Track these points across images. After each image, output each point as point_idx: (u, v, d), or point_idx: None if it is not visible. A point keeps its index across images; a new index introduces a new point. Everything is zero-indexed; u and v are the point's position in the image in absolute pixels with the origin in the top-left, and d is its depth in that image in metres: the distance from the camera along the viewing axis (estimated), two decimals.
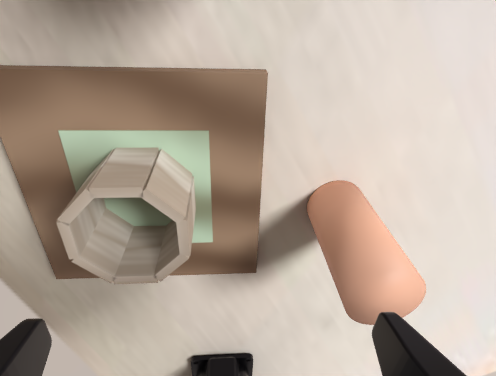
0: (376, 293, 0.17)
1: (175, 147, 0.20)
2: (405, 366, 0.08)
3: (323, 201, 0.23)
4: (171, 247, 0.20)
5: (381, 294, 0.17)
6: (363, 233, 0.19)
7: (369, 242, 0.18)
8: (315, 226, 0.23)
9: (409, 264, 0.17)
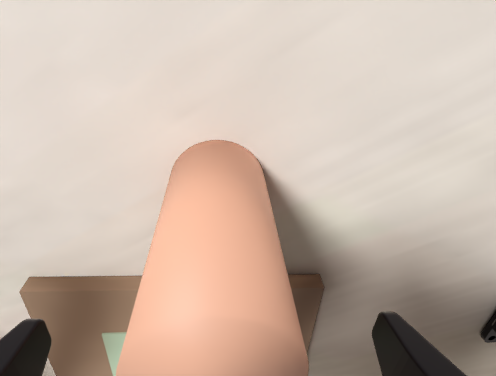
0: None
1: None
2: (405, 366, 0.08)
3: None
4: None
5: None
6: None
7: None
8: None
9: (130, 328, 0.07)
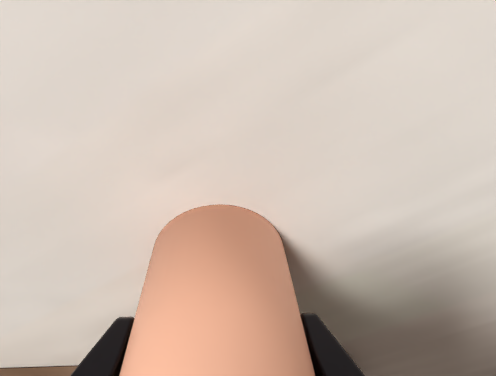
0: None
1: None
2: None
3: None
4: None
5: None
6: None
7: None
8: None
9: None
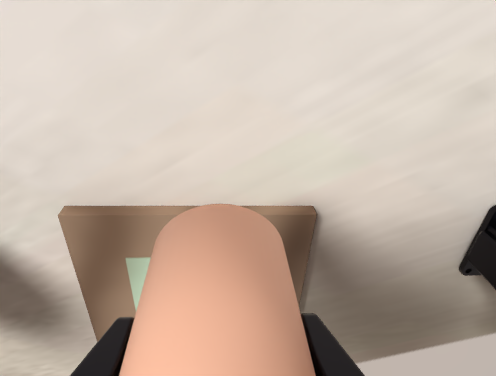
0: None
1: None
2: None
3: None
4: None
5: None
6: None
7: None
8: None
9: None
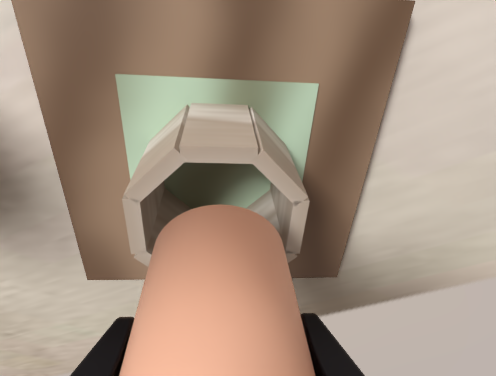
0: None
1: (146, 123, 0.15)
2: None
3: None
4: None
5: None
6: None
7: None
8: None
9: None
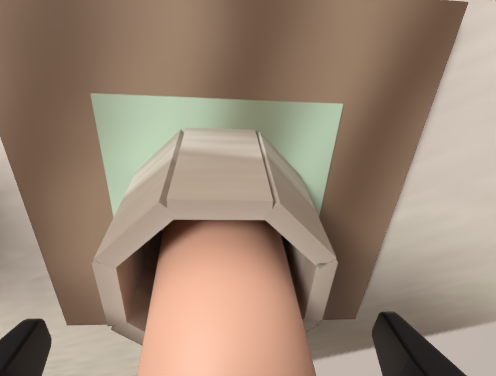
0: None
1: (131, 151, 0.12)
2: (405, 366, 0.08)
3: None
4: None
5: None
6: None
7: None
8: None
9: None
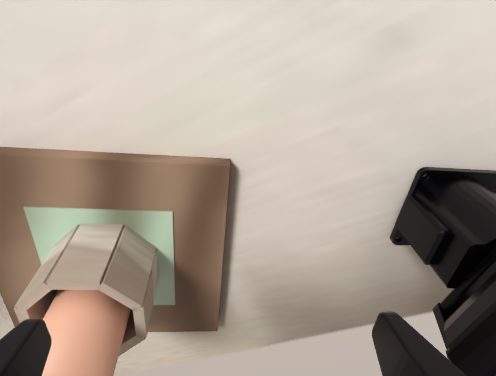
0: None
1: (50, 235, 0.21)
2: (405, 366, 0.08)
3: None
4: None
5: None
6: None
7: None
8: None
9: None
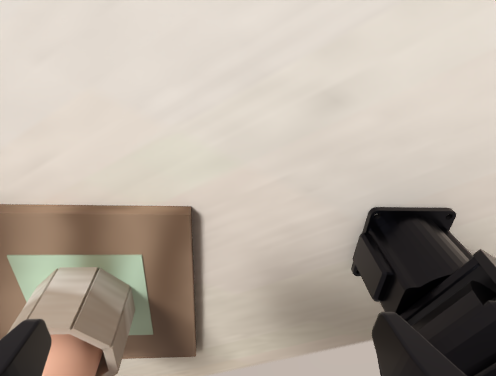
0: None
1: (32, 278, 0.23)
2: (405, 366, 0.08)
3: None
4: None
5: None
6: None
7: None
8: None
9: None
